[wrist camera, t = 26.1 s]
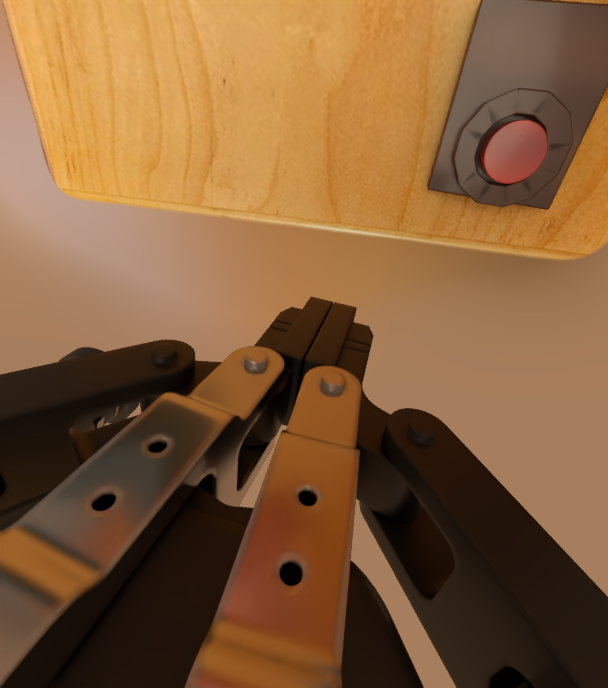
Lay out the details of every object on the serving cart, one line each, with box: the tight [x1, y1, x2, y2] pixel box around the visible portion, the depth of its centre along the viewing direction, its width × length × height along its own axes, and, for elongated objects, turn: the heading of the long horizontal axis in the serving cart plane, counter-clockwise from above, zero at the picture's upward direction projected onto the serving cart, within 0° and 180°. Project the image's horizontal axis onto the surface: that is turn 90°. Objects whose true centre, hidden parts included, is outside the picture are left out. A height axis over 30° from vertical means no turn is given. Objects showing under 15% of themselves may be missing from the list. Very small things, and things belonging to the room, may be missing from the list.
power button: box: [480, 120, 548, 184], centre depth 21 cm, size 3×3×2 cm
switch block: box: [427, 0, 608, 209], centre depth 21 cm, size 10×8×4 cm
